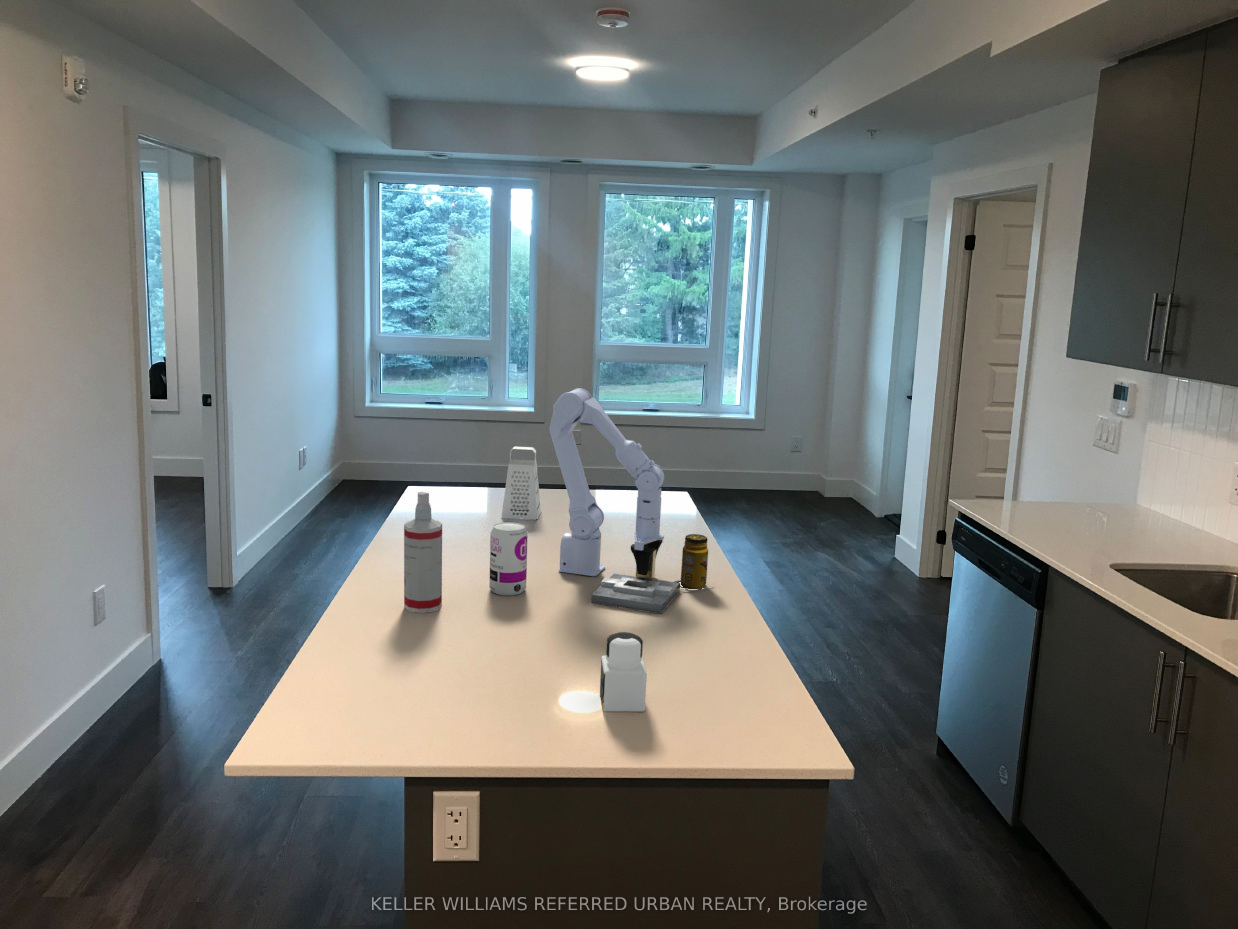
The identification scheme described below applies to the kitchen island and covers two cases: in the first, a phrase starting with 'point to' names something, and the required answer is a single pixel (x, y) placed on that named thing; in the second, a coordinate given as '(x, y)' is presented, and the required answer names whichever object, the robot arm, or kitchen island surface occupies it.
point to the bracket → (649, 591)
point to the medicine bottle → (623, 674)
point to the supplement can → (508, 558)
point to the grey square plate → (635, 596)
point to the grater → (522, 488)
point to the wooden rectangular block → (651, 568)
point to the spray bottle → (423, 560)
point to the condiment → (694, 563)
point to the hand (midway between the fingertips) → (645, 571)
